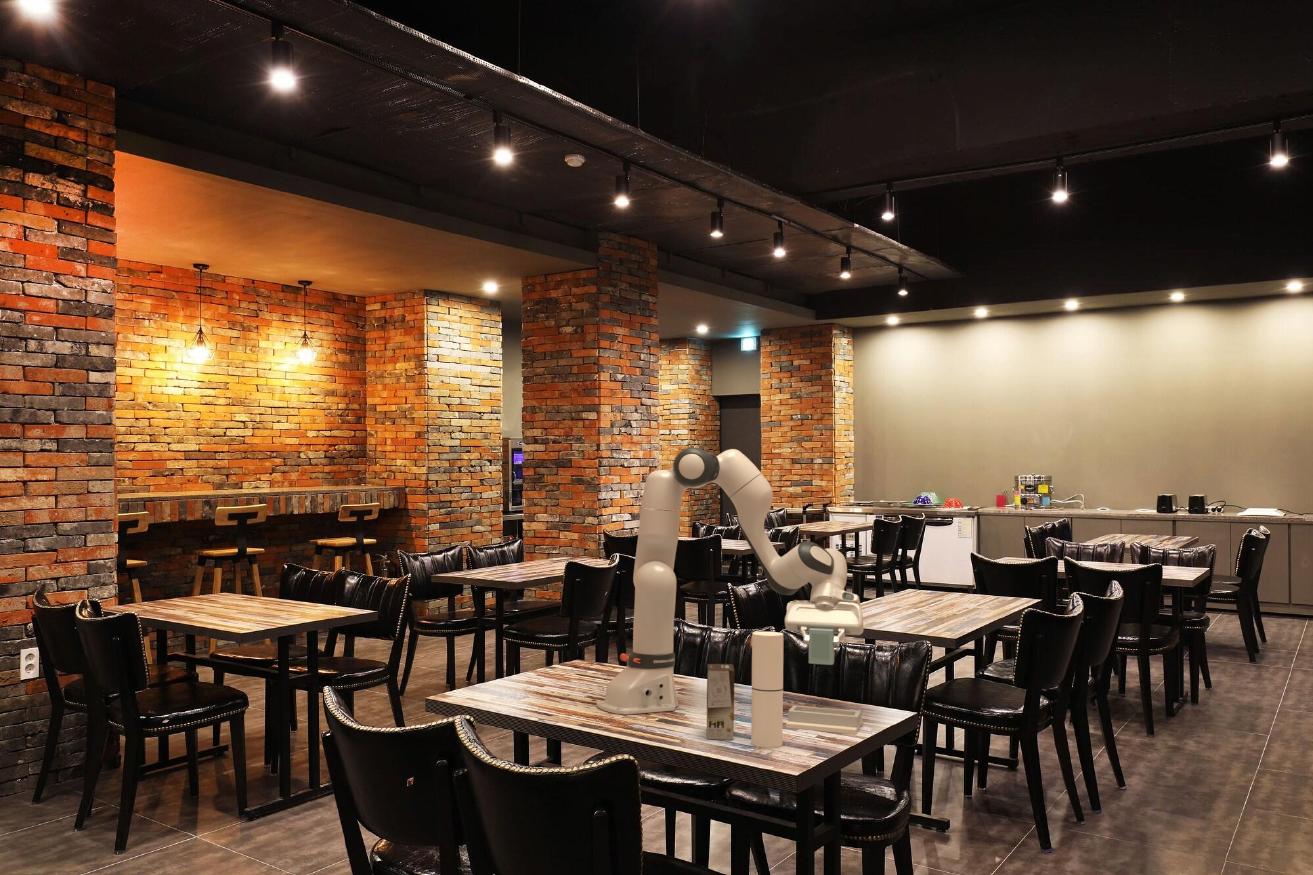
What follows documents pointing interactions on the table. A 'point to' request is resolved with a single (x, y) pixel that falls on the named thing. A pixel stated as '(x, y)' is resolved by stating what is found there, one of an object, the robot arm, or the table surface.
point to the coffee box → (720, 701)
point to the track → (824, 719)
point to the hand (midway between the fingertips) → (821, 644)
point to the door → (821, 646)
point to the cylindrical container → (767, 689)
